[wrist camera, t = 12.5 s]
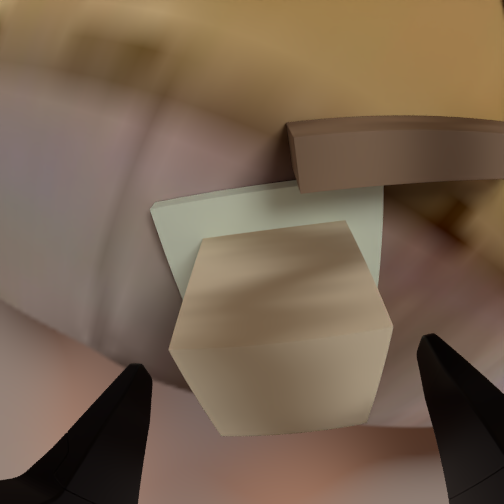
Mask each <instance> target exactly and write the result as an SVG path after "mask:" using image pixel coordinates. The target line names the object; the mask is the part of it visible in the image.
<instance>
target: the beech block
mask: <svg viewBox="0 0 504 504" xmlns="http://www.w3.org/2000/svg"><path fill="white" fill-rule="evenodd" d="M392 331H393V324H392V322H391V319H390V317H389V314H388V312H387V310H386V307H385V305H384V302H383V300H382V298H381V295H380V293H379V291H378V288H377V286H376V284H375V282H374V279H373V277H372V275H371V273H370V270H369V268H368V266H367V264H366V262H365V260H364V257H363V255H362V253H361V251H360V249H359V247H358V245H357V243H356V241H355V239H354V237H353V234H352V232H351V230H350V228H349V226H348V224H347V222H346V220H343V221H335V222H326V223H318V224H310V225H302V226H294V227H286V228H278V229H270V230H262V231H255V232H247V233H240V234H232V235H225V236H218V237H210V238H203V240H202V243H201V246H200V249H199V252H198V255H197V258H196V261H195V264H194V267H193V270H192V273H191V276H190V279H189V283H188V286H187V289H186V292H185V295H184V299H183V302H182V305H181V308H180V312H179V315H178V318H177V322H176V325H175V329H174V332H173V335H172V339H171V342H170V346H169V349H168V350H169V352H170V354H171V356H172V357H173V359H174V361H175V363H176V364H177V366H178V368H179V370H180V371H181V373H182V375H183V377H184V378H185V380H186V382H187V383H188V385H189V387H190V388H191V390H192V392H193V393H194V395H195V396H196V398H197V400H198V401H199V403H200V404H201V406H202V408H203V409H204V411H205V412H206V414H207V415H208V417H209V418H210V420H211V422H212V423H213V425H214V426H215V427H216V429H217V430H218V432H219V433H220V435H221V436H261V435H280V434H292V433H302V432H312V431H320V430H328V429H334V428H341V427H347V426H354V425H359V424H364V423H367V421H368V418H369V415H370V412H371V409H372V405H373V402H374V399H375V396H376V393H377V389H378V386H379V382H380V379H381V375H382V372H383V368H384V364H385V360H386V356H387V352H388V348H389V344H390V340H391V335H392Z"/></svg>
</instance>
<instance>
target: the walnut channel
mask: <svg viewBox="0 0 504 504" xmlns="http://www.w3.org/2000/svg"><path fill="white" fill-rule="evenodd" d="M286 125H287V132H288V139H289V147H290V154H291V162H292V168H293V171H294V174H295V177H296V180H297V184H298V187H299V190H300V194H304V193H313V192H322V191H331V190H340V189H350V188H360V187H371V186H383V185H395V184H408V183H423V182H439V181H458V180H483V179H504V122H502V121H493V120H484V119H473V118H460V117H443V116H361V117H343V118H329V119H317V120H306V121H297V122H288V123H286Z"/></svg>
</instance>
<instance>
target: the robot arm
mask: <svg viewBox="0 0 504 504" xmlns="http://www.w3.org/2000/svg"><path fill="white" fill-rule="evenodd" d="M417 361H418V366H419V370H420V375H421V380H422V386H423V391H424V396H425V400H426V404H427V407H428V411H429V414H430V418H431V422H432V425H433V429H434V433H435V437H436V440H437V445H438V449H439V453H440V458H441V462H442V467H443V471H444V476H445V481H446V487H447V492H448V498H449V504H504V394H503V393H502V392H501V391H500V390H499V389H498V388H497V387H496V386H494V385H493V384H492V383H491V382H490V381H489V380H488V379H487V378H486V377H485V376H483V375H482V374H481V373H480V372H479V371H478V370H477V369H476V368H474V367H473V366H472V365H471V364H470V363H469V362H468V361H467V360H465V359H464V358H463V357H462V356H461V355H460V354H458V353H457V352H456V351H455V350H454V349H453V348H452V347H450V346H449V345H448V344H447V343H446V342H444V341H443V340H442V339H441V338H440V337H439V336H437V335H436V334H434V333H431V334H427V335H423V336H422V338H421V341H420V344H419V347H418V350H417ZM151 397H152V378H151V376H150V375H149V373H148V372H147V370H146V369H145V367H144V366H143V365H142V364H136V363H132V364H130V365H128V366H127V367H126V369H125V370H124V371H123V372H122V373H121V374H120V375H119V376H118V377H117V378H116V379H115V381H113V383H112V384H111V385H110V386H109V387H108V388H107V389H106V390H105V391H104V392H103V393H102V395H101V396H100V397H99V398H98V399H97V400H96V401H95V402H94V403H93V404H92V405H91V406H90V408H89V409H88V410H87V411H86V412H85V413H84V414H83V415H82V416H81V417H80V418H79V420H78V421H77V422H76V423H75V424H74V425H73V426H72V427H71V428H70V429H69V430H68V433H66V434H65V435H64V436H63V437H62V438H61V439H60V440H59V441H58V442H57V443H56V444H55V446H53V448H52V449H50V450H49V451H48V452H47V453H46V454H45V455H44V456H43V457H42V458H41V459H40V460H38V461H37V462H36V463H35V464H34V465H33V466H32V467H31V468H30V469H29V470H27V471H26V472H25V473H24V474H22V475H20V476H18V477H15V478H12V479H6V480H0V504H138V498H139V490H140V481H141V475H142V467H143V461H144V455H145V448H146V441H147V436H148V430H149V424H150V412H151Z"/></svg>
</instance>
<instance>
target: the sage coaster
mask: <svg viewBox="0 0 504 504" xmlns="http://www.w3.org/2000/svg"><path fill="white" fill-rule="evenodd" d="M383 196H384V185H383V186H371V187H360V188H350V189H340V190H331V191H322V192H313V193H304V194H300V190H299V187H298V184H297V180H292V181H284V182H276V183H269V184H262V185H254V186H248V187H241V188H234V189H228V190H222V191H215V192H209V193H203V194H198V195H192V196H186V197H181V198H175V199H170V200H165V201H160V202H155V203H154V205H153V206H152V207H151V209H150V211H151V214H152V217H153V220H154V223H155V226H156V229H157V232H158V235H159V238H160V241H161V243H162V246H163V249H164V252H165V255H166V257H167V260H168V263H169V265H170V268H171V271H172V274H173V276H174V279H175V281H176V284H177V287H178V289H179V292H180V294H181V297H182V299H184V295H185V292H186V289H187V286H188V283H189V279H190V276H191V273H192V270H193V267H194V264H195V261H196V258H197V255H198V252H199V249H200V246H201V243H202V240H203V238H210V237H218V236H225V235H232V234H240V233H247V232H255V231H262V230H270V229H278V228H286V227H294V226H302V225H310V224H318V223H326V222H335V221H343V220H346V222H347V224H348V226H349V228H350V230H351V232H352V234H353V237H354V239H355V241H356V243H357V245H358V247H359V249H360V251H361V253H362V255H363V257H364V260H365V262H366V264H367V266H368V268H369V270H370V273H371V275H372V277H373V279H374V282H375V284H376V286H377V288H378V280H379V269H380V258H381V244H382V226H383Z"/></svg>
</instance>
